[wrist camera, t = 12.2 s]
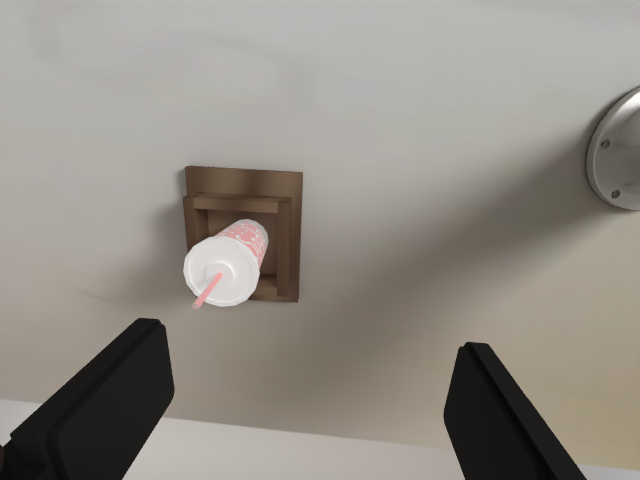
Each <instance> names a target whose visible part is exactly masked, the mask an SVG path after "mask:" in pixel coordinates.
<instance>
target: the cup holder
mask: <svg viewBox="0 0 640 480" xmlns="http://www.w3.org/2000/svg"><path fill="white" fill-rule="evenodd" d="M185 173H186V185H187V196H185V197H183V205H184V216H185V227H186V237H187V248H188V253H189V252H190V250H191V249H192V248H193V246H195V245H197V244H198V243H200V242H201V241H203V240H205V239H207V238H209V237H214V236H215V235H217V234H218V233H220V232H221V231H223V230H224V229H226V228H227V227H229V226H230V225H232V224H233V223H235V222H237V221H239V220H244V219H249V220H253V221H256V222H258V223H259V224H260V225H262V226H263V227H264V229H265V231H266V232H267V235H268V245H267V249H266V252H265V255H264V258H263V260H262V263H261V266H260V269H259V272H260V275H259V278H258V282H257V286H256V289H255V291H254V292H253V293H252V294H251V295H250V297H249V298H248V299H247V300H261V301H278V302H296V303H298V298H299V270H300V242H301V215H302V187H303V172H288V171H271V170H253V169H236V168H219V167H201V166H187V167H185ZM191 291H192V290H191ZM192 292H193V291H192ZM196 297H198V296H196Z"/></svg>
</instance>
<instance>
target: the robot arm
mask: <svg viewBox="0 0 640 480" xmlns="http://www.w3.org/2000/svg"><path fill="white" fill-rule="evenodd" d="M587 175H588V179H589V182H590V184H591V186H592V188H593V190H594V191H595V192H596V194H597V195H598V196H599V197H600V198H601V199H603V200H604V201H606V202H607V203H609V204H611V205H614V206H616V207H620V208H625V209H629V210H640V87H638V88H636V89H635V90H633V91H631V92H630V93H629V94H627V95H626V96H624V97H623V98H622V99H620V100H619V101H618V102H617V103H616V104H615V105H614V106H613V107H612V108H611V109H610V110H609V111H608V113H607V114H606V115H605V117H604V118H603V119H602V120H601V122H600V124H599V125H598V127H597V129H596V131H595V132H594V134H593V137H592V140H591V142H590V145H589V148H588V154H587ZM173 396H174V382H173V375H172V369H171V362H170V355H169V348H168V342H167V335H166V328H165V326H164V325H163V324H161V322H160V321H159V320H158V319H149V318H138V319H137V320H135V321H134V322H133V323H132V324H131V325H130V326H129V327H128V328H127V329H125V330H124V331H123V332H122V333H121V334H120V335H119V336H118V337H117V338H115V339H114V340H113V341H112V342H111V343H110V344H109V345H108V346H107V347H106V348H104V349H103V350H102V351H101V352H100V353H99V354H98V355H97V356H96V357H94V358H93V359H92V360H91V361H90V362H89V363H88V364H87V365H86V366H85V367H83V368H82V369H81V370H80V371H79V372H78V373H77V374H76V375H75V376H74V377H72V378H71V379H70V380H69V381H68V382H67V383H66V384H65V385H64V386H62V387H61V388H60V389H59V390H58V391H57V392H56V393H55V394H54V395H53V396H51V397H50V398H49V399H48V400H47V401H46V402H45V403H44V404H43V405H41V406H40V407H39V408H38V409H37V410H36V411H35V412H34V413H33V414H32V415H30V416H29V417H28V418H27V419H26V420H25V421H24V422H23V423H22V424H21V425H20V426H18V427H17V428H16V429H15V430H14V431H13V432H12V433H11V434H10V436H11V440H10V441H9V442H8V443H7V444H6V445H4V446H3V447H2V446H1V445H0V480H122V479H123V477H124V475H125V474H126V472H127V471H128V469H129V467H130V466H131V464H132V463H133V461H134V460H135V458H136V456H137V455H138V453H139V452H140V450H141V449H142V447H143V445H144V444H145V442H146V440H147V439H148V437H149V436H150V434H151V433H152V431H153V430H154V428H155V426H156V425H157V423H158V422H159V420H160V418H161V417H162V415H163V414H164V412H165V411H166V409H167V407H168V406H169V404H170V403H171V401H172V399H173ZM444 423H445V426H446V429H447V431H448V434H449V437H450V439H451V442H452V445H453V448H454V450H455V453H456V456H457V458H458V461H459V464H460V467H461V469H462V472H463V475H464V477H465V480H587V479H586V478H585V476H584V475H583V474H582V472H581V471H580V469H579V468H578V467H577V465H576V464H575V462H574V461H573V460H572V458H571V457H570V456H569V454H568V453H567V451H566V450H565V449H564V447H563V446H562V445H561V443H560V442H559V440H558V439H557V438H556V436H555V435H554V433H553V432H552V431H551V429H550V428H549V427H548V425H547V424H546V422H545V421H544V420H543V418H542V417H541V416H540V414H539V413H538V411H537V410H536V409H535V407H534V406H533V404H532V403H531V402H530V400H529V399H528V398H527V397H526V396H525V394H524V393H523V391H522V390H521V389H520V387H519V386H518V384H517V383H516V382H515V380H514V379H513V378H512V376H511V375H510V373H509V372H508V371H507V369H506V368H505V366H504V365H503V364H502V362H501V361H500V360H499V358H498V357H497V355H496V354H495V353H494V351H493V350H492V348H491V347H490V346H489V345H488V344H486V343H475V342H466V343H465V345H464V347H463V346H461V347H460V348H459V350H458V354H457V358H456V362H455V366H454V370H453V374H452V379H451V383H450V387H449V391H448V395H447V400H446V404H445V408H444Z"/></svg>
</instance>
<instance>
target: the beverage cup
mask: <svg viewBox="0 0 640 480" xmlns="http://www.w3.org/2000/svg"><path fill="white" fill-rule="evenodd" d="M267 245H268V235H267V232H266V231H265V229H264V227H263V226H262V225H260V224H259V223H258V222H256V221H253V220H249V219H244V220H239V221H237V222H235V223H233V224H232V225H230V226H229V227H227V228H226V229H224V230H223V231H221V232H220V233H218V234H217V235H215V236H214V237H209V238H207V239H205V240H203V241H201V242H200V243H198V244H197V245H195V246H193V248H192V249H191V250H190V252H189V253H188V255H187V256H186V257H185V263H184V269H183V272H184V275H185V279H186V283H187V285H188V286H189V287H190V289H191V290H192V291H193V293H194V294H195V295H196V296H198V298H197V300H196V301H195V302H194V303H193V305H192V308H193V309H195V310H197V309H199V307H200V306H201V305H202V303H203V302H204V301H205V302H207V303H209V304H213V305H217V306H221V307H223V306H235V305H237V304H239V303H241V302H243V301H245V300H247V299H248V298H249V297H250V295H251V294H252V293H253V292H254V291H255V289H256V286H257V282H258V278H259V275H260V272H259V269H260V266H261V263H262V260H263V258H264V255H265V252H266V249H267Z"/></svg>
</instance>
